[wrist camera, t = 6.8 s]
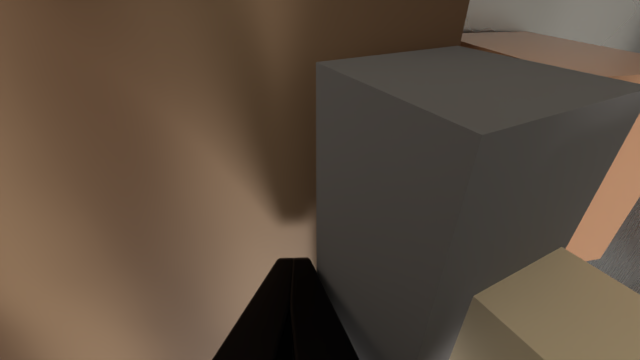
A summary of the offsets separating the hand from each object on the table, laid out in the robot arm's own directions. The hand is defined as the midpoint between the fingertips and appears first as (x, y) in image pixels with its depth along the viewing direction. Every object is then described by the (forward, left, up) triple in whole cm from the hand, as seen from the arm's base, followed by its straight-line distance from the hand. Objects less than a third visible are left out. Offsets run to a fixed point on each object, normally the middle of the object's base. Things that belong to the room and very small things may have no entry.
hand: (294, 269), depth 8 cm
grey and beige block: (+2, 0, 0) cm, 2 cm away
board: (-4, 0, -4) cm, 6 cm away
